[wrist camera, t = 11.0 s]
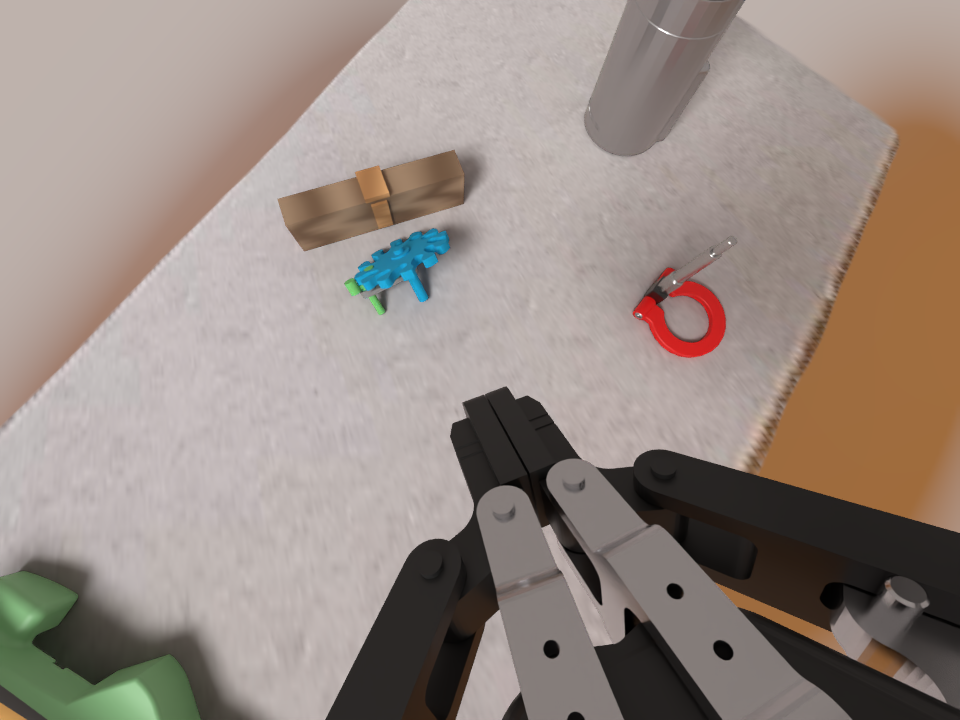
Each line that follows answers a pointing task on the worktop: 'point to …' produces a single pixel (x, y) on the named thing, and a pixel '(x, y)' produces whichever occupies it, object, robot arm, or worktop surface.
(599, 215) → the worktop surface
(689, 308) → the worktop surface
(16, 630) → the green elongated piece
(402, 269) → the gear
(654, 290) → the tow hook
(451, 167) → the rail
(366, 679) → the robot arm
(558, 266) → the worktop surface
